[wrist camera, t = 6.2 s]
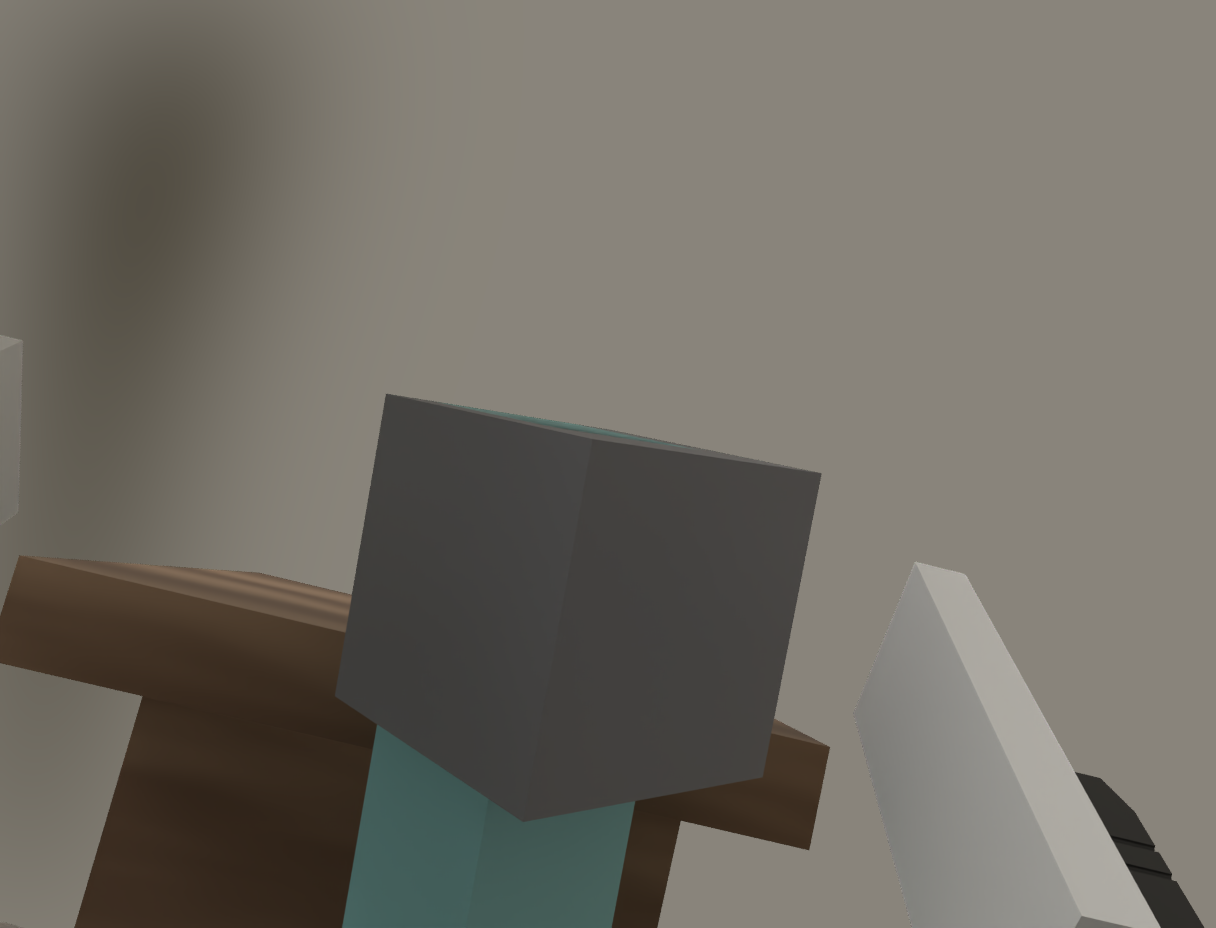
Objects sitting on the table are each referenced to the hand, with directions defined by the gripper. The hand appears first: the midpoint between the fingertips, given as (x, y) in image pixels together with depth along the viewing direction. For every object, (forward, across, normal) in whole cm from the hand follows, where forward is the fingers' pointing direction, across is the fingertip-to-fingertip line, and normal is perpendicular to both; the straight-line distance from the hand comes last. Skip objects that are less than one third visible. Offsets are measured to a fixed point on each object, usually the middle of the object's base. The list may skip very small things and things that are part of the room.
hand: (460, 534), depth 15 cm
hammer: (0, +1, -10) cm, 10 cm away
